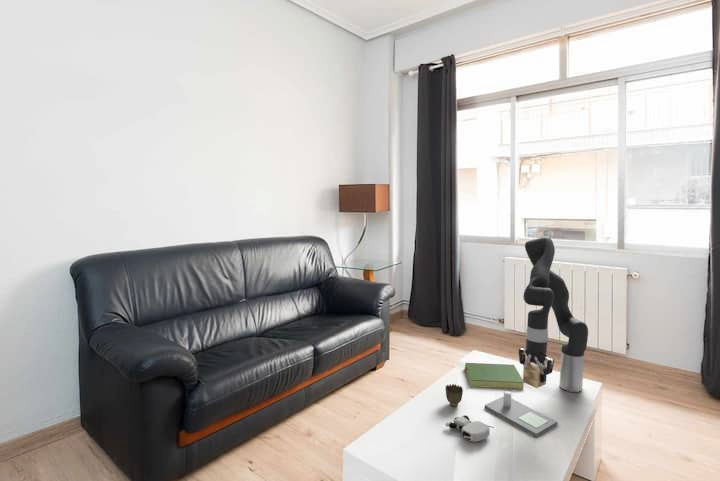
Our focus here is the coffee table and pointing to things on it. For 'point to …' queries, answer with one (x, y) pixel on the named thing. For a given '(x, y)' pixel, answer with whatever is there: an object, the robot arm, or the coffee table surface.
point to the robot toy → (470, 428)
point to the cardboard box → (532, 375)
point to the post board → (521, 415)
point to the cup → (454, 394)
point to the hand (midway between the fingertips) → (534, 378)
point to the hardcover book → (494, 375)
